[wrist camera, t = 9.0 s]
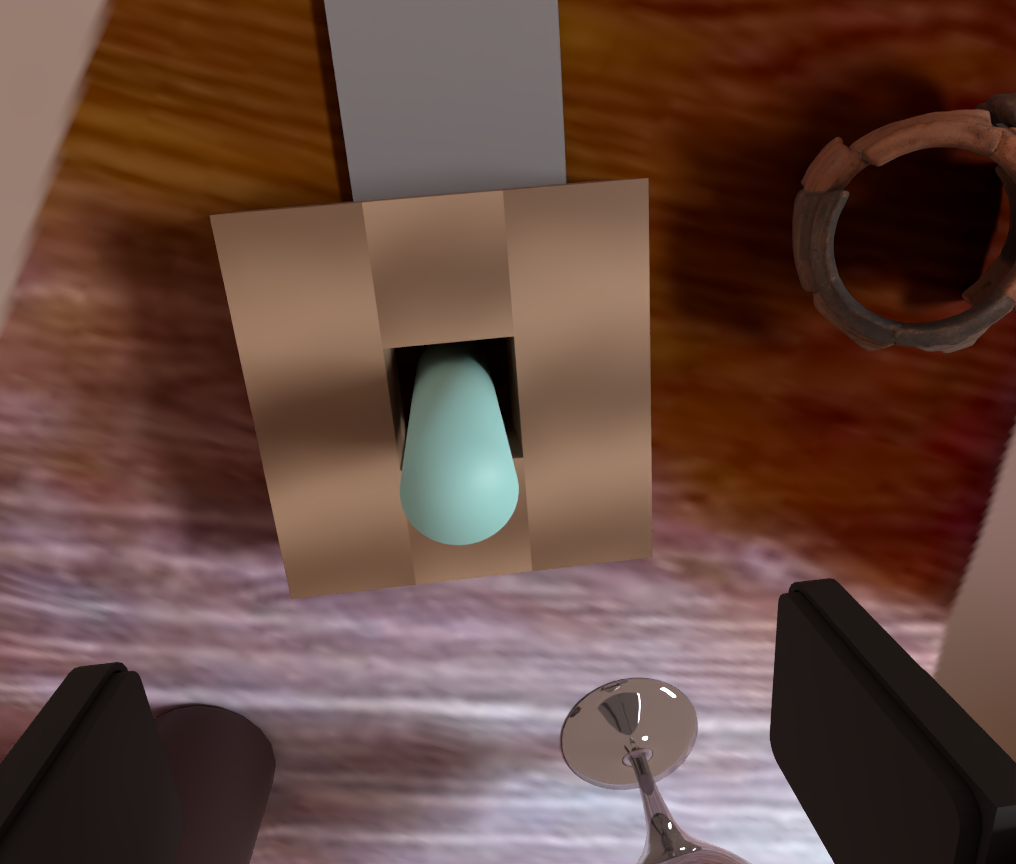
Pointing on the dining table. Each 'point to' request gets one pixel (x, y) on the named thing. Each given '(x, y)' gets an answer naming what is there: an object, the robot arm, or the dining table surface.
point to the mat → (448, 95)
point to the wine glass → (640, 758)
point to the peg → (456, 449)
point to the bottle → (217, 781)
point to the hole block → (443, 319)
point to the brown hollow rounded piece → (985, 130)
